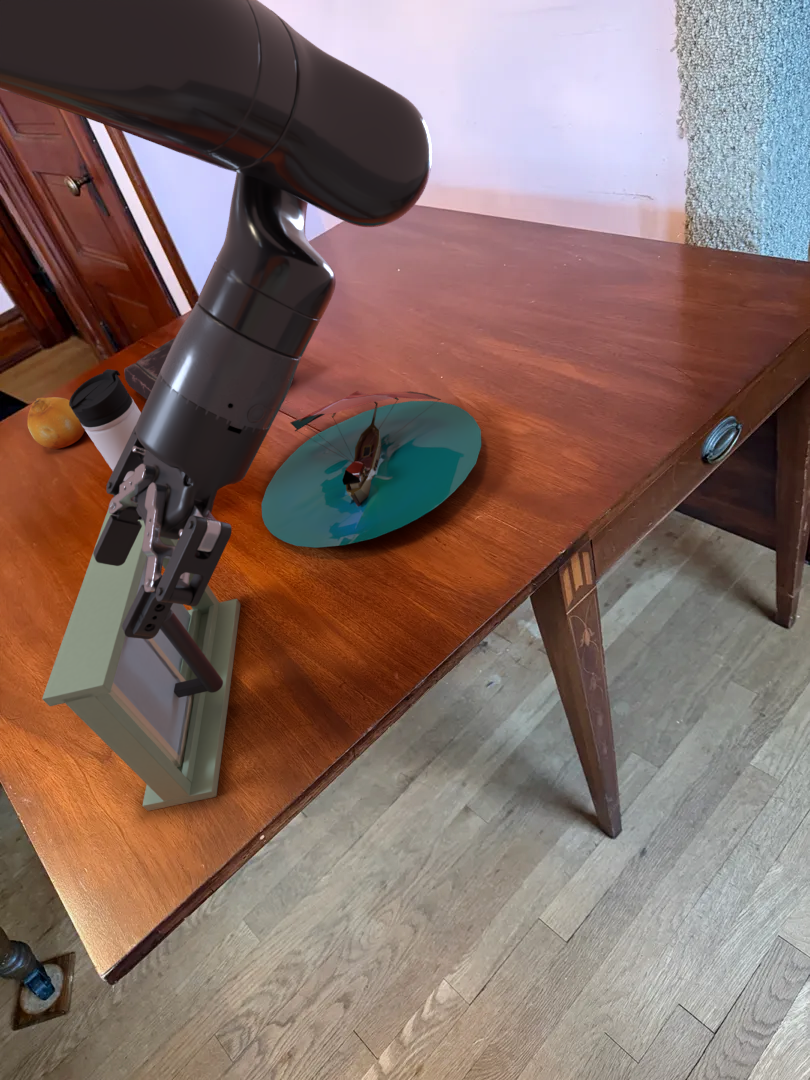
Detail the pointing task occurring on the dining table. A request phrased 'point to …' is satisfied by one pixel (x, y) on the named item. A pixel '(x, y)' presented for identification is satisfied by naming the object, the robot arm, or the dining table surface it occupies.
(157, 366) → the diary
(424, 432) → the boat on round base
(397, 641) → the dining table surface
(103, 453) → the travel mug
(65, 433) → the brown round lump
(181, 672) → the window frame
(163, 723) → the sash
